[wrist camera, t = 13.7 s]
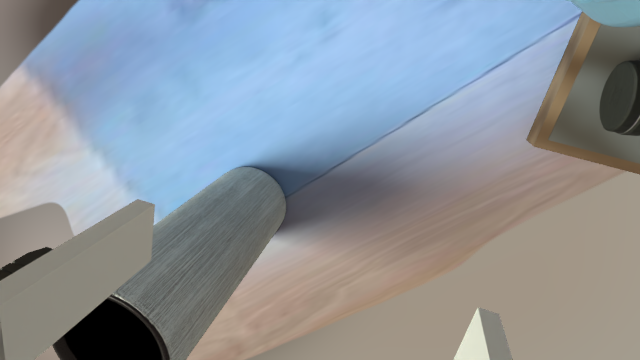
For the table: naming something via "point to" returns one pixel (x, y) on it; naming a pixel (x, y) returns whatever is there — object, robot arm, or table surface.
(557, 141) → the stand
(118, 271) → the robot arm
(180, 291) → the vase
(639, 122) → the camera
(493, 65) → the table surface
